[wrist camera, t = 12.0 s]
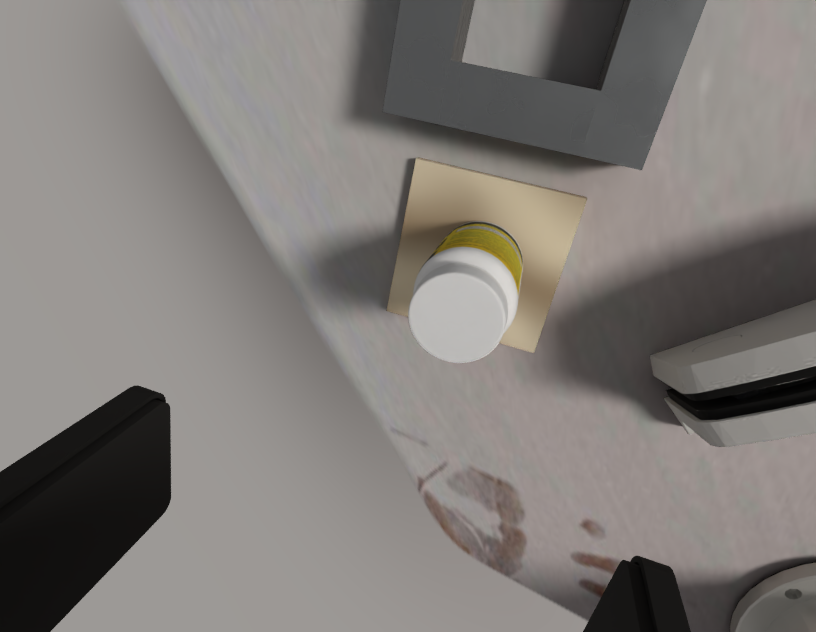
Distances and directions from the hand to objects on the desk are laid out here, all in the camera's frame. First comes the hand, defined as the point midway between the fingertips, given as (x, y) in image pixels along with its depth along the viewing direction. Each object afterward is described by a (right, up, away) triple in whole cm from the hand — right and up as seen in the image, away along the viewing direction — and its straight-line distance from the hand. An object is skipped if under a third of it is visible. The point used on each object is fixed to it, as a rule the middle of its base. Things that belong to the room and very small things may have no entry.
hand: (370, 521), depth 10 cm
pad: (+5, +7, +18) cm, 20 cm away
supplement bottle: (+5, +7, +18) cm, 20 cm away
